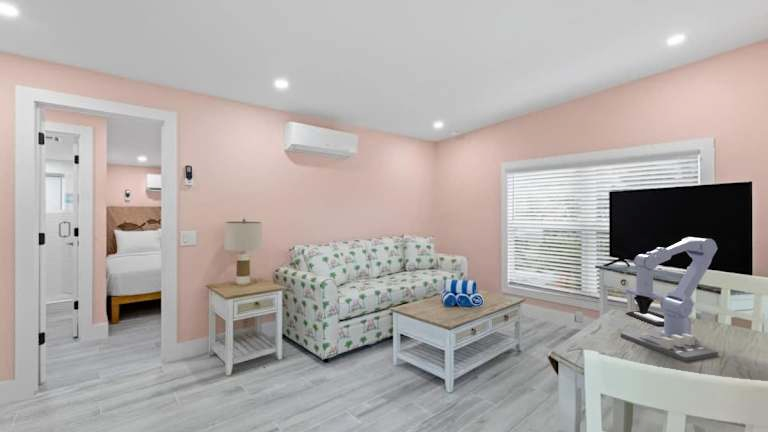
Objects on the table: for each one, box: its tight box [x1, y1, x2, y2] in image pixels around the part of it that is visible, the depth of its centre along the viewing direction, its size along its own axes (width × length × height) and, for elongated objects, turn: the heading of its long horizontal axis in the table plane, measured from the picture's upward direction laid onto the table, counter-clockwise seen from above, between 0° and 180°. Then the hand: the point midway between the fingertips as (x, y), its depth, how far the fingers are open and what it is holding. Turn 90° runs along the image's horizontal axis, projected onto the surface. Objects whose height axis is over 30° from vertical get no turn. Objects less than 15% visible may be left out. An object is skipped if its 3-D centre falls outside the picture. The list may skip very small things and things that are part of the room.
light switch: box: [625, 310, 664, 328], centre depth 167 cm, size 20×3×14 cm
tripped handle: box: [671, 334, 685, 347], centre depth 132 cm, size 3×3×4 cm
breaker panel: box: [620, 328, 719, 362], centre depth 136 cm, size 18×24×5 cm
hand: (643, 313), depth 146 cm, fingers closed
